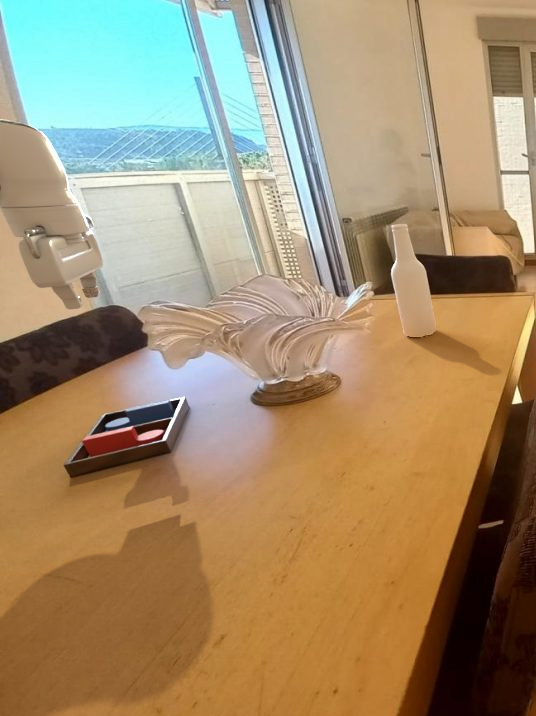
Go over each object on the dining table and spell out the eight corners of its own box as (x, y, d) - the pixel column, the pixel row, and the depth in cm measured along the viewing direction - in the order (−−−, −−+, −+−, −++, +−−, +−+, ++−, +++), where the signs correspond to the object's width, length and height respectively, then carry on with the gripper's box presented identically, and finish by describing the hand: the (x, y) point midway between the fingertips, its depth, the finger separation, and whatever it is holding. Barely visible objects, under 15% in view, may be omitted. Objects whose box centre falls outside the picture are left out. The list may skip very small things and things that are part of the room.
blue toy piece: (177, 413, 93) (170, 397, 91) (173, 420, 90) (166, 404, 88) (111, 427, 88) (103, 411, 87) (105, 436, 85) (97, 419, 84)
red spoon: (89, 461, 78) (79, 443, 76) (96, 451, 81) (86, 434, 79) (164, 443, 82) (156, 426, 81) (168, 434, 85) (160, 417, 84)
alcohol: (430, 326, 140) (411, 221, 129) (441, 333, 134) (421, 224, 123) (400, 333, 135) (376, 225, 124) (409, 340, 129) (386, 227, 117)
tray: (70, 477, 75) (63, 465, 74) (107, 425, 90) (101, 414, 89) (171, 452, 81) (165, 440, 80) (189, 407, 96) (185, 396, 95)
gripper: (51, 228, 74) (89, 312, 79) (94, 217, 90) (124, 289, 95) (-10, 231, 71) (35, 319, 76) (46, 220, 87) (80, 293, 92)
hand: (85, 302), depth 86 cm, fingers open, 8 cm apart
